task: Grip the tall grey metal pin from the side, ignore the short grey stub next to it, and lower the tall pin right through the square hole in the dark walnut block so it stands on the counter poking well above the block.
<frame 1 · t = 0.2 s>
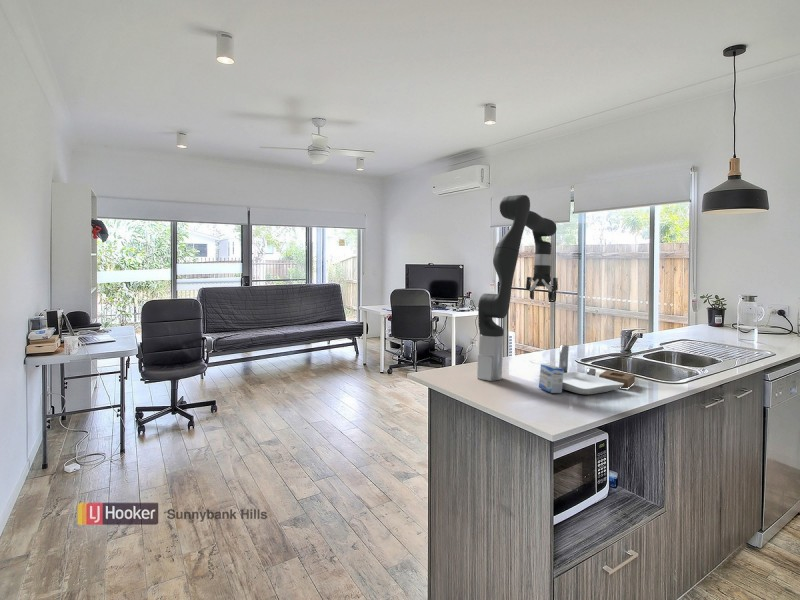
hand: (541, 299, 209), 29 cm above the table, tool pointing down, fingers open, 8 cm apart
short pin: (590, 381, 176), on the table
medicine box: (549, 390, 161), on the table, touching salad plate
hole block: (616, 384, 171), on the table
tall pin: (562, 377, 181), on the table
salad plate: (580, 388, 165), on the table, touching medicine box
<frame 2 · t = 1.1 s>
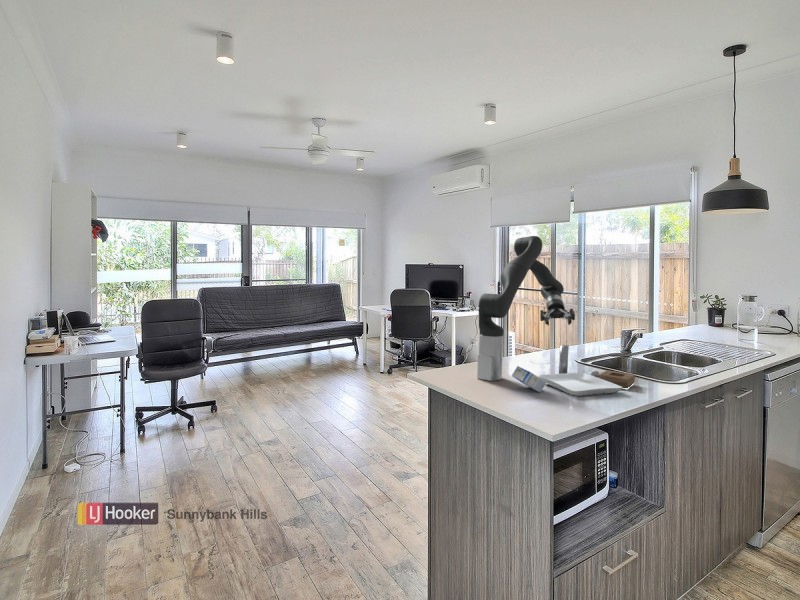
hand: (558, 323, 192), 20 cm above the table, tool tilted 70°, fingers open, 8 cm apart
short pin: (591, 377, 177), point 1 cm above the table, tilted 90°
medicine box: (538, 384, 163), point 2 cm above the table
salad plate: (578, 390, 166), on the table
everything else where it was.
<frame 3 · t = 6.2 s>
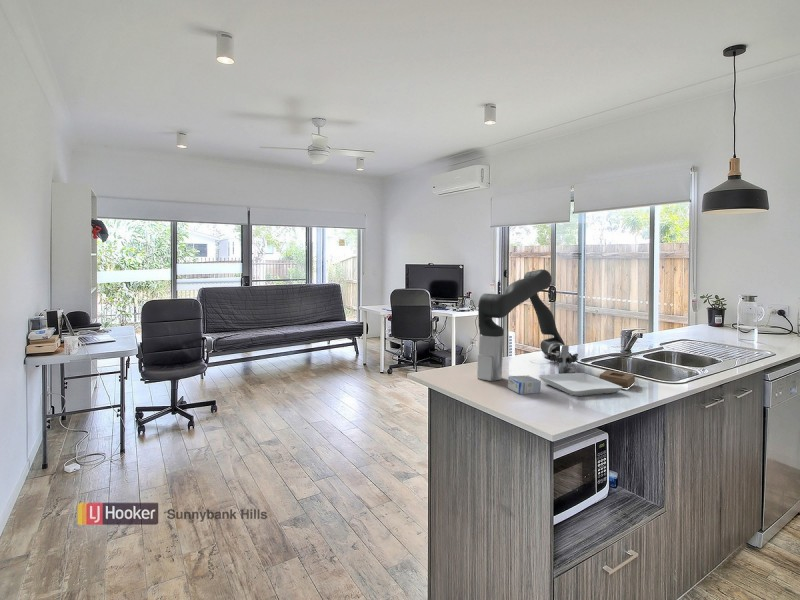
hand: (565, 360, 177), 8 cm above the table, tool horizontal, fingers closed on tall pin, 3 cm apart
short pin: (567, 372, 183), point 1 cm above the table, tilted 90°
medicine box: (535, 383, 163), point 2 cm above the table
tall pin: (562, 377, 181), on the table, touching gripper
everything else where it was.
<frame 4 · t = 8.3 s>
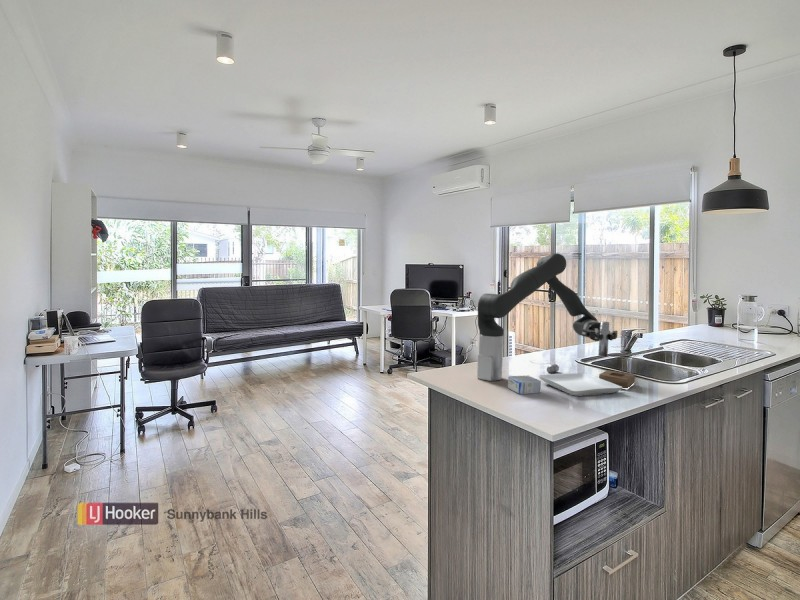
hand: (606, 337, 170), 18 cm above the table, tool horizontal, fingers closed on tall pin, 3 cm apart
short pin: (550, 369, 188), point 1 cm above the table, tilted 90°
tall pin: (602, 355, 174), point 11 cm above the table, touching gripper
everything else where it was.
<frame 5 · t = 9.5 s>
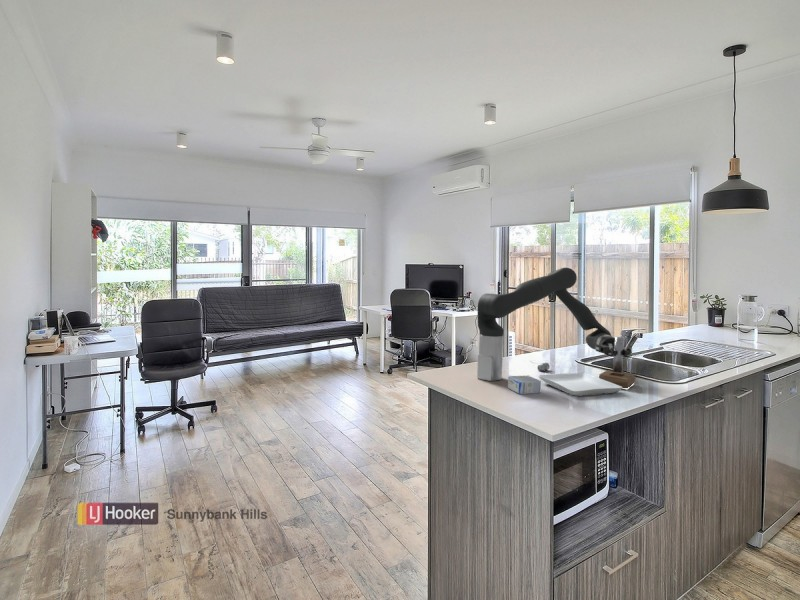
hand: (620, 353, 167), 13 cm above the table, tool horizontal, fingers closed on tall pin, 3 cm apart
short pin: (541, 368, 190), point 1 cm above the table, tilted 90°
tall pin: (617, 371, 171), point 5 cm above the table, touching gripper
everything else where it was.
when the fingers open (10 cm above the table, at t = 10.3 s): tall pin drops 2 cm, resting in hole block.
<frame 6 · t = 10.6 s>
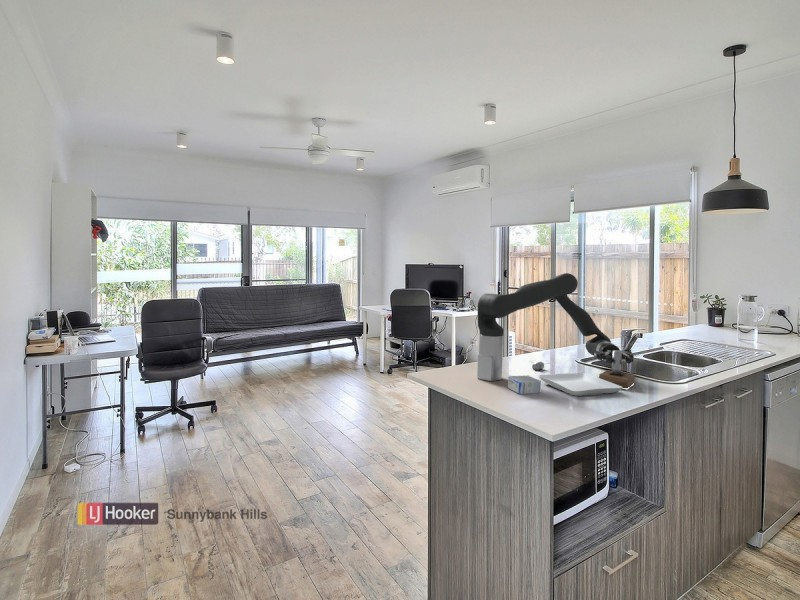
hand: (619, 360, 168), 10 cm above the table, tool horizontal, fingers open, 6 cm apart
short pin: (535, 367, 192), point 1 cm above the table, tilted 90°
tall pin: (616, 384, 171), resting in hole block
everything else where it was.
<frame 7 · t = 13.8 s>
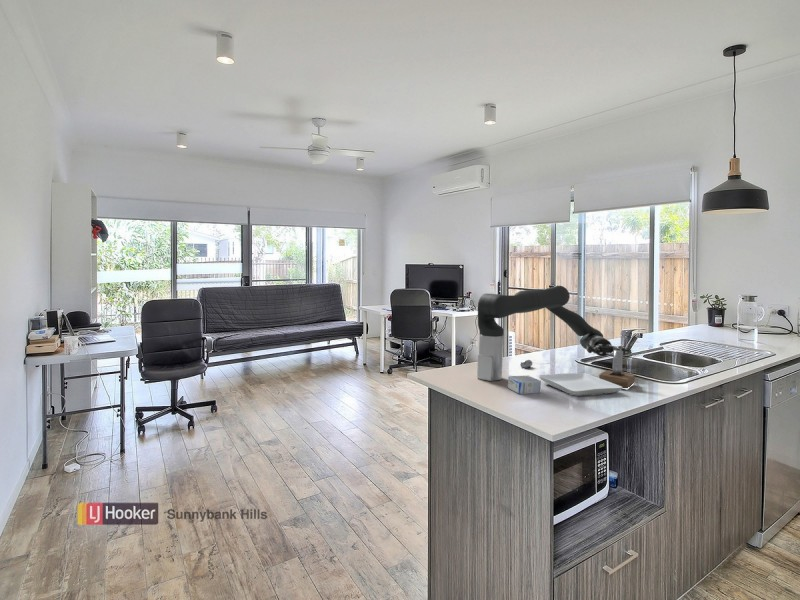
hand: (610, 353, 181), 10 cm above the table, tool horizontal, fingers open, 8 cm apart
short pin: (523, 365, 195), point 1 cm above the table, tilted 90°
everything else where it was.
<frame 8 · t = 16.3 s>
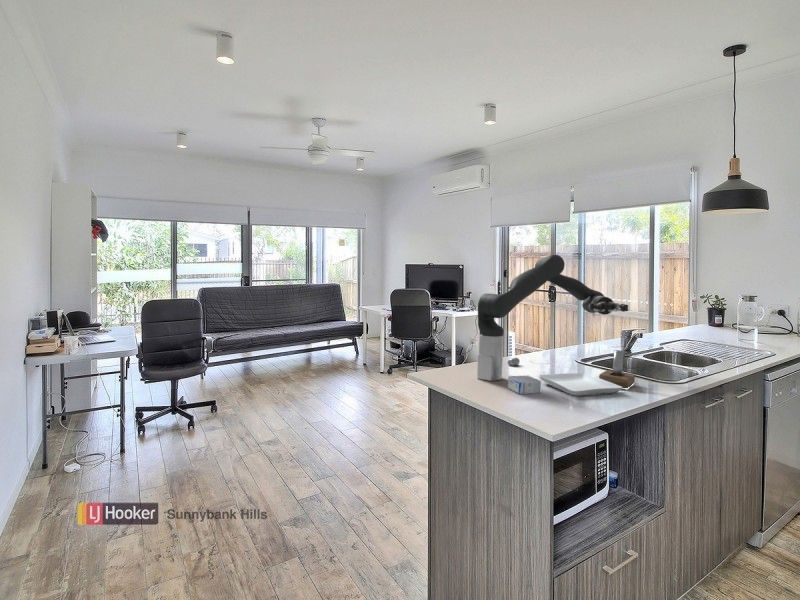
hand: (612, 308, 180), 28 cm above the table, tool horizontal, fingers open, 8 cm apart
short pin: (511, 362, 199), point 1 cm above the table, tilted 90°
everything else where it was.
at the end: tall pin 0.1 cm from the hole block (horizontally); tall pin resting in hole block; tall pin tilted 1° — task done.
